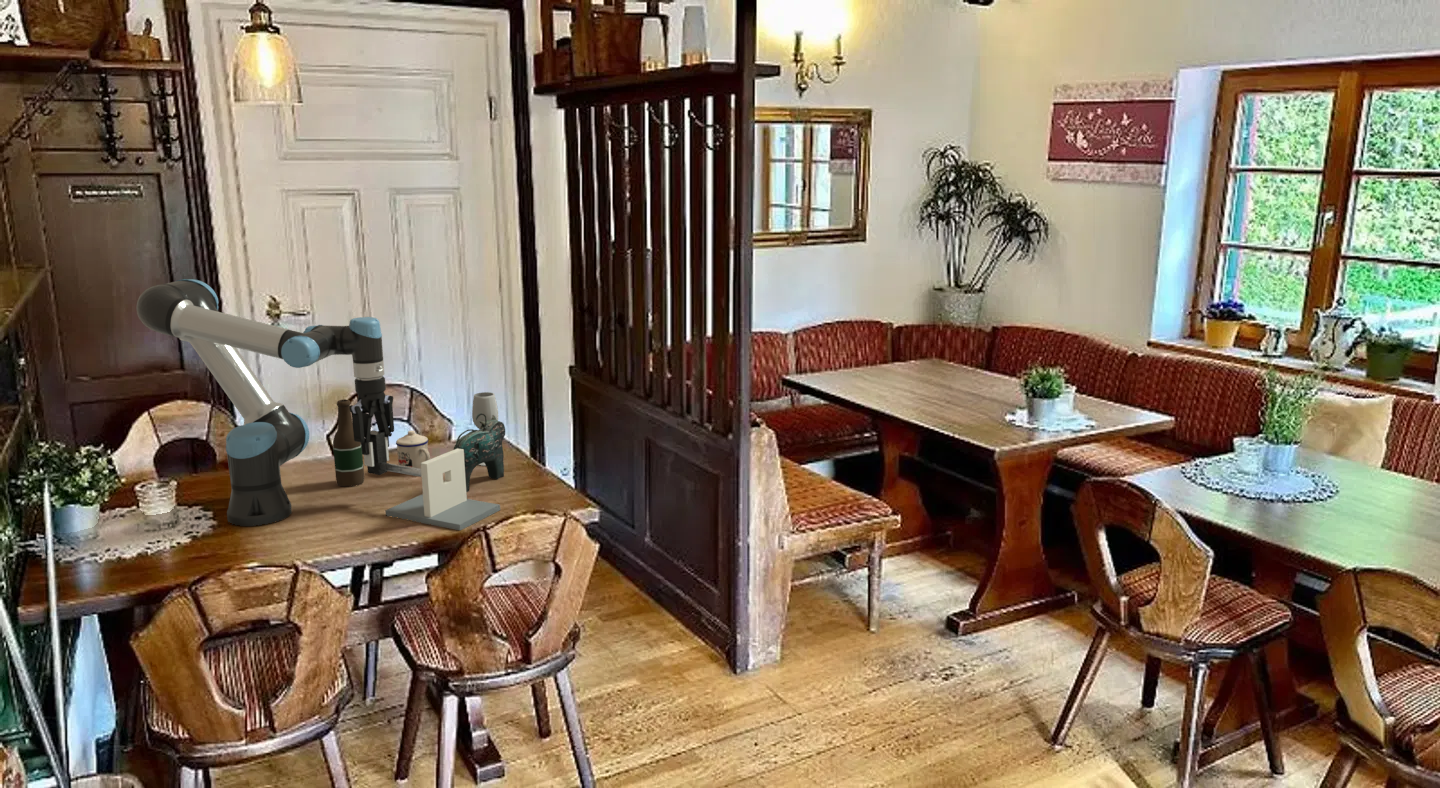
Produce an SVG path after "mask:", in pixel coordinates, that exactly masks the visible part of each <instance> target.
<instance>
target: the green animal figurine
mask: <svg viewBox="0 0 1440 788" xmlns="http://www.w3.org/2000/svg"><path fill="white" fill-rule="evenodd" d="M480 415H484V414H482V413H480V414H478V415H477V416H476V420H477V419H478V417H479V416H480ZM484 417H485V422H483V421H479V422H480V423H481V424H482V425H481V427H480V429H472V428H470V429H469V428H468V429H466V430H464V431H462V432H461V433H460V434H459V435H458V436H457V439H456V443H455V445H454V447H453V450H455V449H457V448H458V449H464V463H465V479H466V493H468V492H470V481H471V476H472V473H473V471H474V469H475V468H476V467H477V466H479V464H481V463H485V465H486V466H485V467H486V471H487V474H488V478H489V479H492V480H499V479H500V478H503V477H504V476H505V465H504V455H505V454H504V447H503V440H504V439H505V436H506V426H505V424H504V422H503V421H501V420H499V419H498V420H497V419H496V418H495V416H494V415H492V419H491V420H486V416H485V415H484Z"/></svg>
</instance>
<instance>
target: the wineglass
mask: <svg viewBox="0 0 1440 788" xmlns="http://www.w3.org/2000/svg"><path fill="white" fill-rule="evenodd" d="M497 404H498V403H497V400H496V395H495V393H494V392H489V391H487V392H486V391H485V392H483V391H482V392H476V393H474V394H473V399H472V409H471V417H472V418H471V419H472V423H473V425H474V426H475V427H476V428H477V430H480V427H481V425H482V424H481V423H480V422H479V421H483V422H485V417H484V415H485V416H486V420H491V419H492V415H494V416H495V418H496V419H497V420H498V421H499V410H498V409H499V408H498V405H497ZM480 413H482V414H484V415H480V416H479V417H478V419H477V420H476V416H477V415H478V414H480ZM479 465H481V466H480V467H486V465H485V463H481V464H479ZM479 465H478V466H479Z"/></svg>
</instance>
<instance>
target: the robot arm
mask: <svg viewBox="0 0 1440 788" xmlns="http://www.w3.org/2000/svg"><path fill="white" fill-rule="evenodd" d="M136 315H137V317H138V319H139V321H141V323H142V324H143V325H144V326H145V327H146V328H148V329H149V330H151V331H154V332H156V333H159V334H162V335H166V336H169V337H175V338H178V339H179V340H180V341H183V342H188V343H189V344H190V345H191V346H192V348H193V349H194V351H195V352H196V353H197V355H198V356H199V358H200V359H201V360H202V362H203V363H204V365H205V366H206V367H207V370H209V372H210V373H211V374H212V376H213V378H214V379H215V381H216V382H217V383H218V385H219V386H220V387H221V389H222V390H223V391H224V393H225V394H226V395H227V397H228V399H229V400H230V401H231V403H232V404H233V406H234V407H235V409H236V410H237V411H238V413H239V414H240V415H241V417H242V418H243V424H240V425H238V426H236V427H234V428H232V429H231V430H230V431H229V432H228V433H227V434H226V437H225V452H226V455H227V463H228V471H229V472H228V473H229V478H230V479H229V480H230V486H231V488H230V489H231V493H230V499H229V502H228V508H227V510H226V517H227V518H226V519H227V522H228V523H229V522H230V523H232V524H231V525H233V524H235V525H234V526H237V525H240V526H239V527H257V526H256V525H258V526H263V525H262V524H265V525H269V524H268V523H270V524H273V523H272V522H274V523H276V522H275V521H277V522H280V521H282V519H283V520H284V518H285V519H287V518H288V517H290V516H291V515H292V513H293V511H292V503H291V501H290V498H289V497H288V494H287V492H286V489H285V488H284V487H283V483H282V478H281V476H282V475H281V468H280V467H281V466H282V465H284V464H286V463H287V462H289V461H290V460H293V459H295V458H296V457H297V456H299V455H300V454H301V453H302V452H303V451H304V450H305V449H306V448H307V446H308V444H309V441H310V428H309V427H308V424H307V422H306V421H305V419H304V418H303V417H302V416H300V415H299V414H297V413H296V414H295V413H294V412H289V410H288V409H287V408H286V406H285V405H284V404H283V403H280V402H276V401H275V400H274V399H273V398H272V397H271V395H270V394H269V392H268V391H267V390H266V388H265V387H264V386H263V384H262V382H261V381H260V379H259V377H257V375H256V374H255V372H254V371H253V370H252V368H251V367H250V365H249V364H248V362H247V361H246V360H245V358H244V357H243V355H242V354H241V352H240V351H239V349H240V350H243V351H244V350H245V351H248V352H252V353H256V354H260V355H265V356H269V357H272V358H276V359H281V360H283V361H284V362H285V363H286V364H287V365H288V366H289V367H292V368H294V369H295V368H296V369H301V368H305V367H309V366H311V365H313V364H315V363H317V362H319V361H322V360H323V359H326V358H328V357H331V356H333V355H335V356H337V355H338V356H342V355H344V356H351V358H352V364H353V368H352V369H353V377H354V378H355V379H354V390H355V391H354V392H355V393H356V394H357V396H358V398H357V403H355V404H354V405H352V404H350V407H349V409H350V411H351V417H352V423H353V433H354V441H355V442H360V443H361V447H362V455H363V466H366V467H367V466H371V467H373V466H374V455H373V443H372V442H370V433H371V431H372V420H373V418H374V420H375V422H376V423H375V424H376V426H377V429H378V430H377V431H380V432H384V435H385V447H386V459H387V462H389V461H390V457H389V456H390V455H389V448H390V440H389V439H390V437H392V436H393V434H392V433H394V432H395V422H394V411H393V402H394V396H393V395H386V394H385V391H386V390H387V389H386V385H387V384H386V377H384V375H385V364H384V354H383V352H384V351H383V333H382V329H381V323H380V320H379V319H378V318H376V317H372V316H362V317H355V318H351V319H350V320H349V325H324V324H318V325H308V326H307V327H305V329H304V331H303V332H300V331H296V330H292V329H289V328H284V327H280V326H277V325H273V324H268V323H265V322H262V321H261V322H260V321H256V320H252V319H250V318H249V319H248V318H245V317H241V316H236V315H232V314H228V313H224V312H220V311H219V298H218V296H217V293H216V292H215V290H214V289H213V288H212V287H211V286H210V285H209V284H207V283H206V282H204V281H202V280H198V279H194V278H193V279H192V278H191V279H190V278H189V279H187V278H186V279H185V278H184V279H177V280H175V281H172V282H168V283H167V282H166V283H163V284H156V285H154V286H151V287H149V288H146V289H145V290H144V291H143V292H142V293H141V294H140V295H139V297H138V299H137V303H136ZM290 514H291V515H290ZM289 515H290V516H289ZM286 517H287V518H286ZM279 520H280V521H279ZM230 523H229V524H230Z"/></svg>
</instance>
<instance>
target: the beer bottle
mask: <svg viewBox="0 0 1440 788" xmlns="http://www.w3.org/2000/svg"><path fill="white" fill-rule="evenodd" d="M350 405H351V401H350V400H349V399H340V400H337V402H336V407H337V422H338V423H337V424H338V425H337V431H336V433H335V435H334V436H333V441H332V449H333V450H332V451H333V461H334V469H335V470H334V471H335V473H334V474H335V480H336V485H337V486H339V487H342V488H347V487H348V488H349V486H351V487H357V486H360V485H363V484H362V483H364V481H365V469H364V466H365V465H364V455H363V454H362V447H361V443H360V442H355V441H354V433H353V422H352V414H351V411H350V409H349V407H350ZM359 484H360V485H359ZM356 485H357V486H356Z"/></svg>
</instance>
